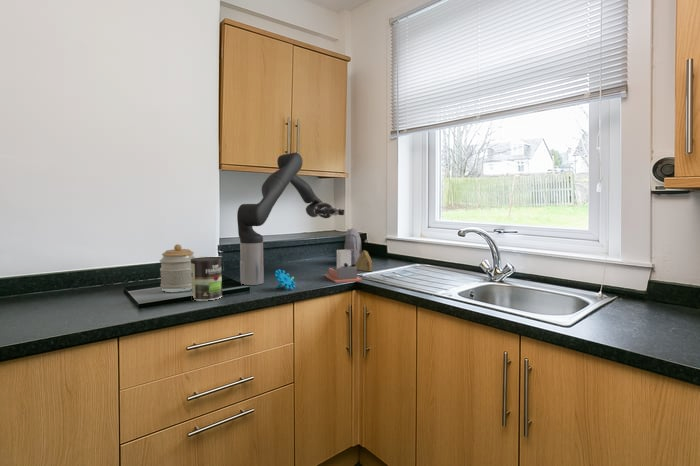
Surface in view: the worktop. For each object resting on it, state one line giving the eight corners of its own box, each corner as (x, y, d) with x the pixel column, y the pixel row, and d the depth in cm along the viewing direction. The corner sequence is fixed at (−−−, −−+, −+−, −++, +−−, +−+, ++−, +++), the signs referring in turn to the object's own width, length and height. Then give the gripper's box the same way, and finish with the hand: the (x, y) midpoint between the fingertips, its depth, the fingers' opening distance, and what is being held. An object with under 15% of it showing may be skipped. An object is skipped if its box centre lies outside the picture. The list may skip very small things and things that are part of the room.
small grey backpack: (349, 262, 216) (349, 227, 214) (363, 262, 214) (363, 227, 213) (343, 266, 201) (343, 228, 200) (358, 267, 200) (359, 229, 198)
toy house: (379, 267, 186) (374, 261, 196) (369, 253, 184) (364, 248, 194) (361, 280, 186) (357, 273, 196) (351, 267, 184) (348, 261, 194)
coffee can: (228, 296, 136) (227, 257, 135) (204, 303, 128) (203, 261, 127) (210, 293, 142) (209, 255, 141) (185, 299, 133) (184, 259, 132)
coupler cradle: (336, 283, 160) (336, 269, 159) (324, 276, 175) (324, 263, 174) (362, 280, 164) (362, 267, 164) (348, 274, 179) (348, 262, 179)
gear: (285, 288, 142) (272, 268, 145) (276, 298, 144) (262, 278, 147) (302, 286, 152) (289, 267, 155) (293, 296, 153) (280, 277, 157)
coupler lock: (340, 278, 165) (340, 251, 164) (336, 276, 169) (336, 250, 169) (351, 278, 166) (351, 250, 165) (347, 275, 171) (347, 249, 170)
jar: (189, 284, 157) (188, 241, 156) (202, 289, 148) (201, 244, 146) (155, 289, 148) (154, 244, 146) (167, 295, 139) (166, 247, 137)
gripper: (310, 202, 190) (319, 204, 175) (337, 203, 195) (348, 205, 180) (309, 217, 191) (318, 220, 176) (336, 217, 196) (347, 221, 181)
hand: (333, 212), depth 178 cm, fingers open, 8 cm apart
